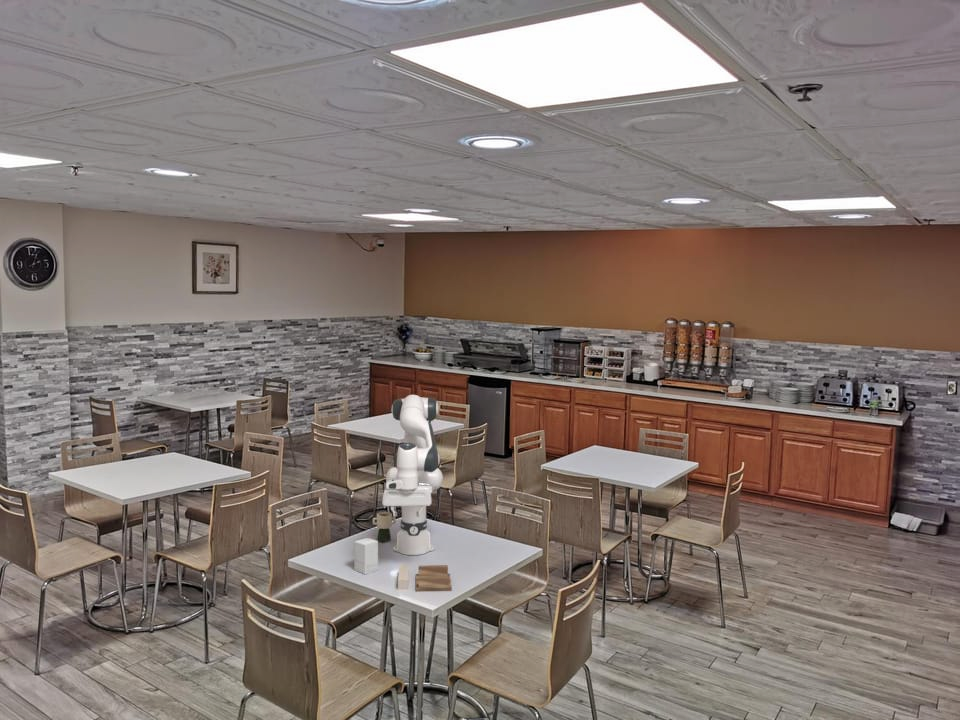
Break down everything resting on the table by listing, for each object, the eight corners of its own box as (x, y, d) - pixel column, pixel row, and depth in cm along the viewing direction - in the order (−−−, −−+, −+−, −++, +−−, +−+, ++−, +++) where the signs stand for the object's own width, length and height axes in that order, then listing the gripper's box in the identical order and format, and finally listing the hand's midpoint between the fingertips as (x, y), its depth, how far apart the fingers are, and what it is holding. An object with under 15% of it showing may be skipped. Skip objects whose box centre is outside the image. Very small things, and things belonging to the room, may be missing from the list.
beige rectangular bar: (399, 574, 297) (399, 565, 296) (409, 574, 297) (409, 565, 297) (397, 589, 281) (398, 580, 280) (408, 589, 281) (408, 580, 281)
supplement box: (378, 570, 300) (378, 541, 299) (364, 574, 295) (364, 545, 294) (367, 565, 305) (367, 537, 304) (353, 570, 300) (353, 541, 299)
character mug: (395, 538, 343) (395, 511, 342) (395, 542, 336) (395, 515, 335) (372, 538, 341) (372, 511, 340) (372, 543, 334) (372, 516, 333)
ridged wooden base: (415, 576, 294) (416, 565, 293) (449, 576, 295) (449, 564, 295) (416, 591, 279) (416, 579, 278) (451, 590, 280) (451, 578, 280)
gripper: (432, 481, 295) (431, 514, 296) (382, 481, 293) (382, 514, 294) (432, 484, 289) (432, 518, 290) (382, 484, 287) (381, 518, 288)
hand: (406, 516), depth 292 cm, fingers open, 8 cm apart
